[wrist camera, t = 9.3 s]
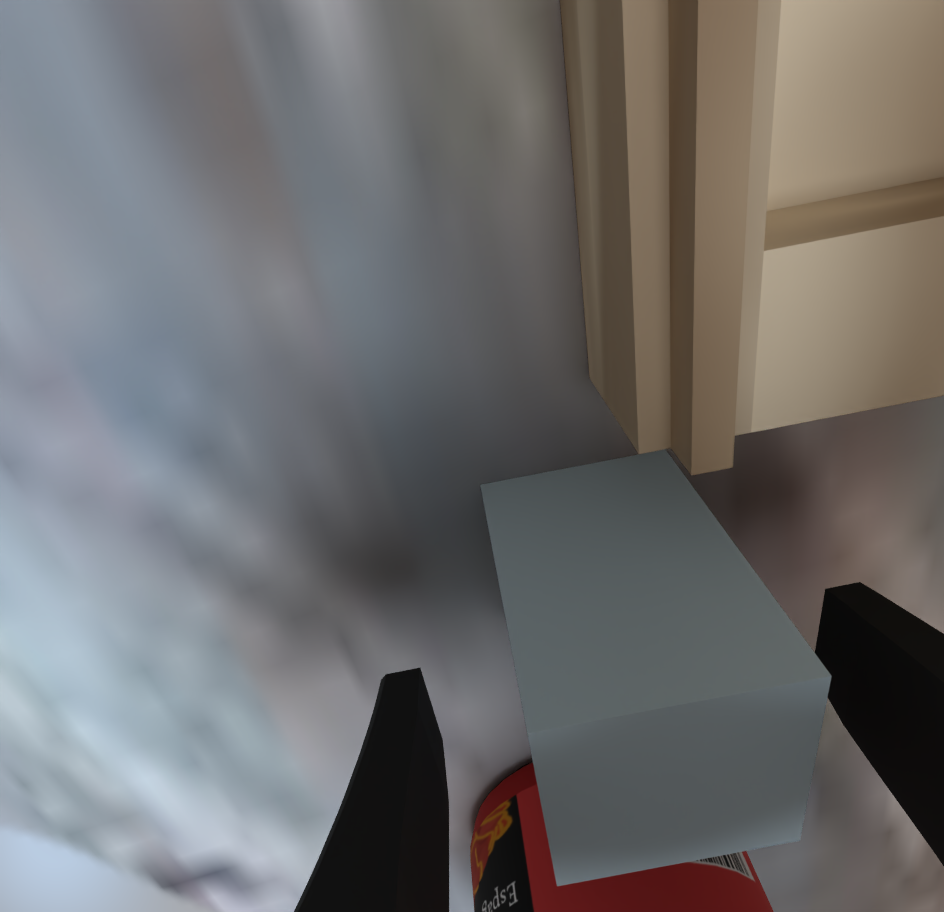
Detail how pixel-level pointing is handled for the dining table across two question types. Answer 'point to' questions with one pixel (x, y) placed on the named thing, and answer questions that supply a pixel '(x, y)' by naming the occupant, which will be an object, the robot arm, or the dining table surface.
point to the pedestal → (757, 211)
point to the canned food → (595, 901)
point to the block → (650, 671)
